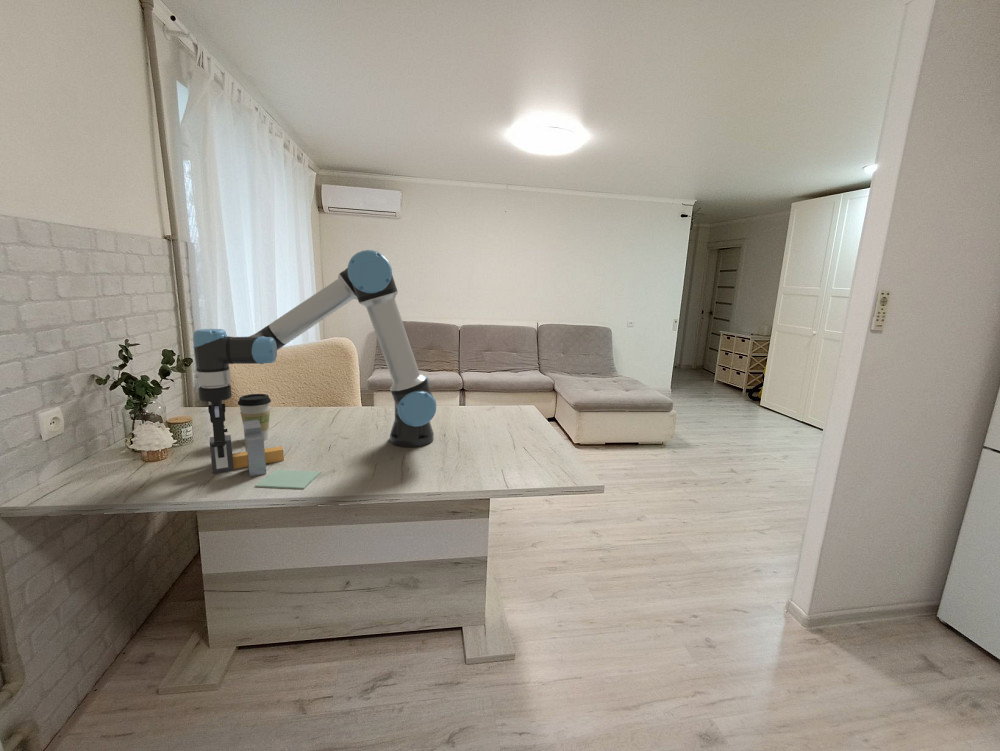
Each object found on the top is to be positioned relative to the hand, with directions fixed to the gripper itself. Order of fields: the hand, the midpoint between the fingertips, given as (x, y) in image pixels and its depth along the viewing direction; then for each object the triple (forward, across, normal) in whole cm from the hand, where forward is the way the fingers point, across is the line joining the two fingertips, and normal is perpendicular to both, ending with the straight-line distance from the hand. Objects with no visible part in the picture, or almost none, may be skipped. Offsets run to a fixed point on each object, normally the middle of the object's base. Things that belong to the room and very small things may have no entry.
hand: (222, 461), depth 123 cm
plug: (+2, 0, +7) cm, 7 cm away
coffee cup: (+2, -22, +10) cm, 25 cm away
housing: (+2, 0, +8) cm, 8 cm away
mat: (+2, +17, +15) cm, 23 cm away
